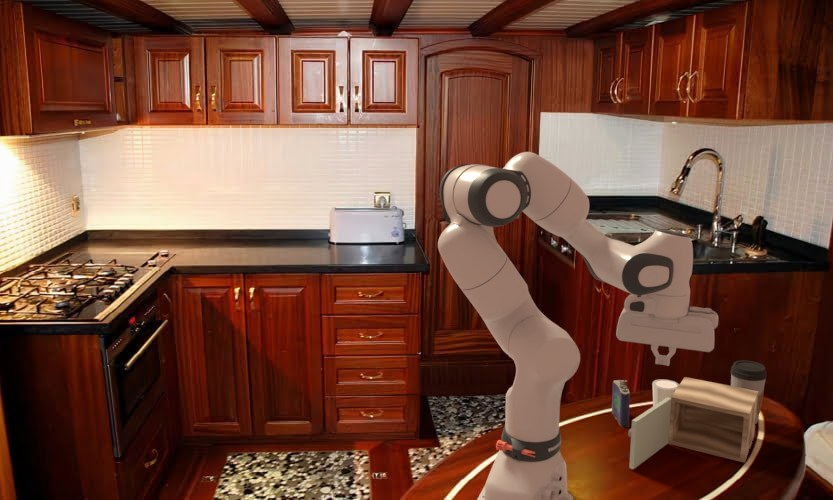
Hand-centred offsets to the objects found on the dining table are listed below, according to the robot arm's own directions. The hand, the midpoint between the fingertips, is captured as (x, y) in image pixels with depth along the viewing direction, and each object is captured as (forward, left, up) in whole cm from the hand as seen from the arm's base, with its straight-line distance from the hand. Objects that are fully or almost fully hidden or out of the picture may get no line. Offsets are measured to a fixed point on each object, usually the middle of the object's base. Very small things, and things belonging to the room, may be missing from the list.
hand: (662, 364), depth 155 cm
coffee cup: (+33, -14, -24) cm, 43 cm away
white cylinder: (+30, +5, -24) cm, 39 cm away
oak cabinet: (+18, -9, -24) cm, 31 cm away
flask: (+18, +13, -24) cm, 33 cm away
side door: (+2, +3, -23) cm, 24 cm away
